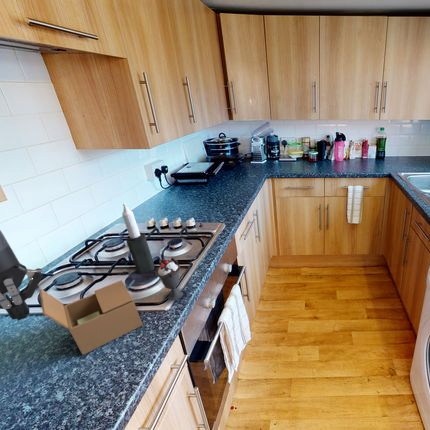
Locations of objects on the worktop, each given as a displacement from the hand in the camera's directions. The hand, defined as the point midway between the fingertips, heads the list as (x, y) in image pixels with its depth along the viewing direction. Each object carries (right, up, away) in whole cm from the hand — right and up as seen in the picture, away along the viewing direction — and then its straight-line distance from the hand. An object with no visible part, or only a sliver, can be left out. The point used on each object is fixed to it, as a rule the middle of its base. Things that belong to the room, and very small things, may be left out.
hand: (22, 317), depth 62 cm
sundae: (+21, -3, +25) cm, 32 cm away
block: (+7, -8, +12) cm, 16 cm away
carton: (+9, -8, +14) cm, 18 cm away
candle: (+4, +3, +37) cm, 38 cm away
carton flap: (+4, +1, +4) cm, 5 cm away
